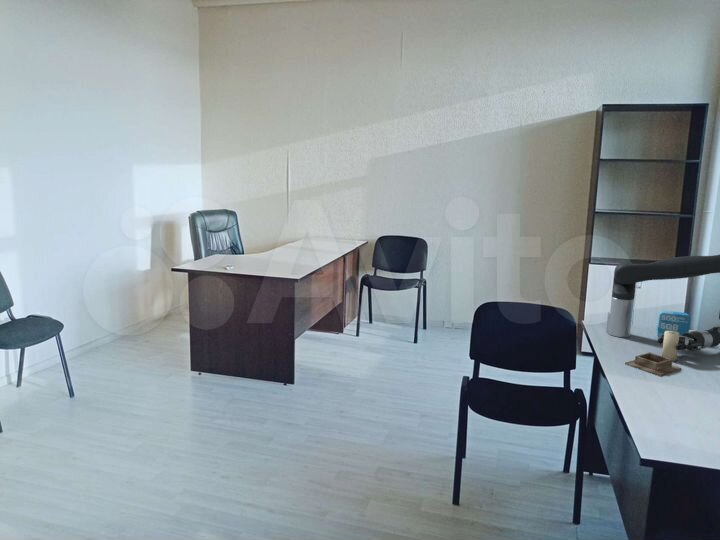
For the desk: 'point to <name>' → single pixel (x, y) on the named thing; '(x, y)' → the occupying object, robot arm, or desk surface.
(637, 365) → the roll stand
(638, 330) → the desk surface
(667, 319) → the data package
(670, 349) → the paper roll
